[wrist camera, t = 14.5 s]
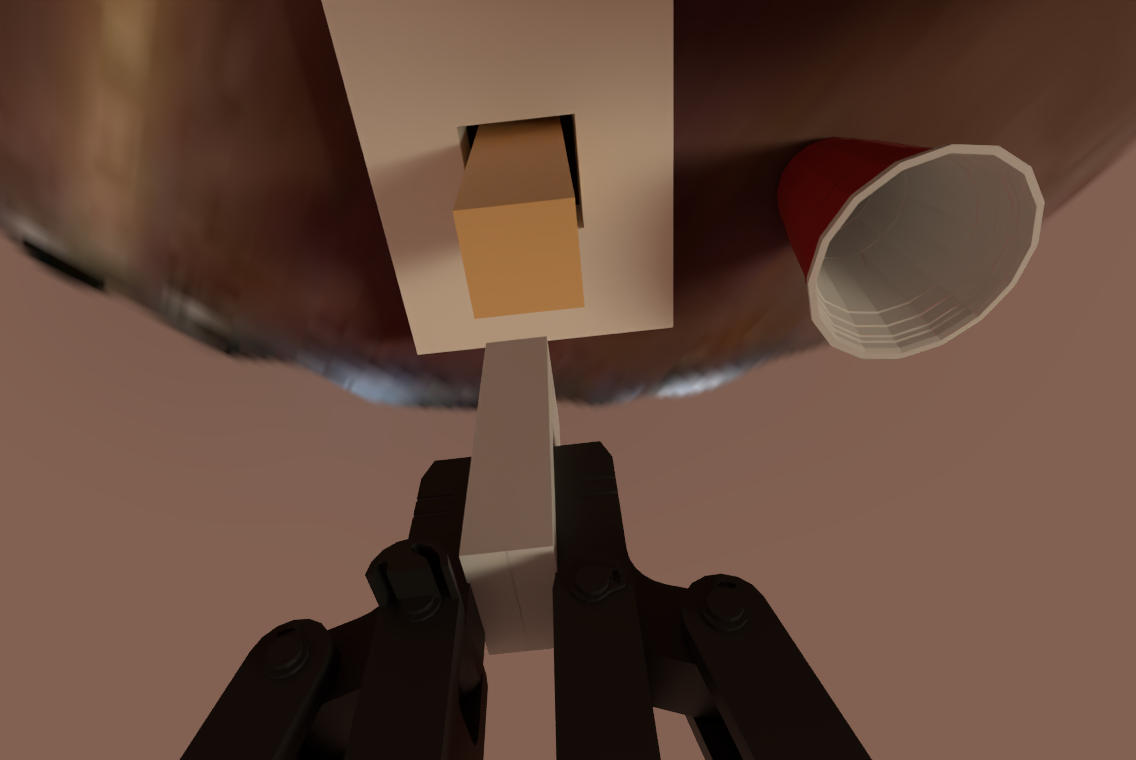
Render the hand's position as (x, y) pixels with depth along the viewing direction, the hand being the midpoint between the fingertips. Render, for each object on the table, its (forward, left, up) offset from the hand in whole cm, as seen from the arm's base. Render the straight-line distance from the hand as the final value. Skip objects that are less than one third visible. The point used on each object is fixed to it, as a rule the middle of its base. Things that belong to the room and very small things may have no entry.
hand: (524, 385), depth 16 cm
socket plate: (0, +1, -24) cm, 24 cm away
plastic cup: (-18, +4, -25) cm, 31 cm away
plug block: (0, +1, -24) cm, 24 cm away
